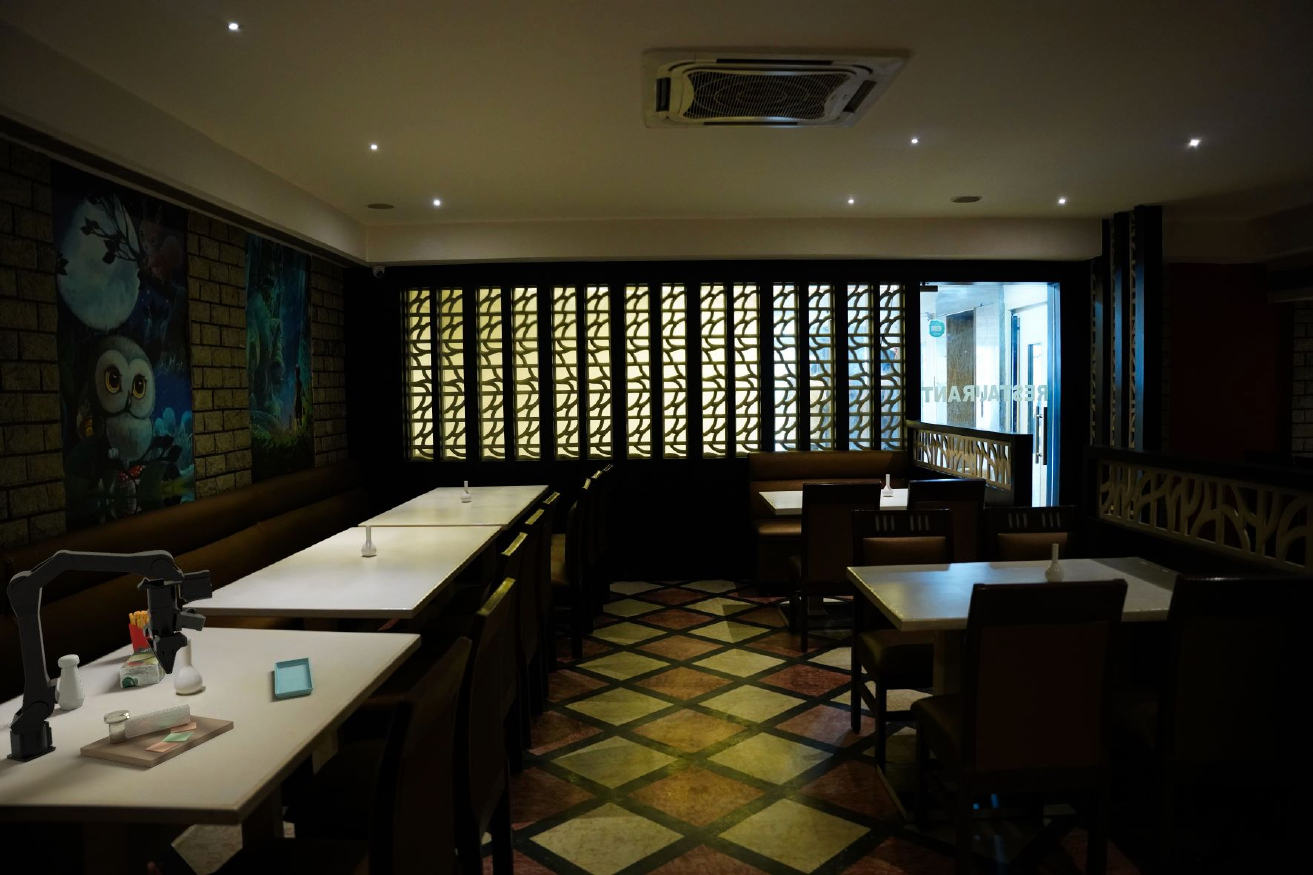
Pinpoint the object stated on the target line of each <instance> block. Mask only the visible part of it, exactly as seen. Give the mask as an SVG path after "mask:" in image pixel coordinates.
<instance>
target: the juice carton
mask: <svg viewBox="0 0 1313 875" xmlns="http://www.w3.org/2000/svg"><path fill="white" fill-rule="evenodd" d="M165 675H167V674H166V672H165V670H164V669H163V668H162V667H161V666H160V664H159V662H158V660H157V658H156V657H155V655H154V653H153V651H152V650H151V648H150V646H149V647H139V648H137V650H136V651H135V652H134V651H133V653H132V654H131V655H130V657H129V658H128V659H127V661H126V662H125V663H124V664H123V665H122V666H121V668H119V677H120V679H119V686H120V688H121V689H123V688H126V687H131V686H134V687H135V686H138V687H139V686H146V685H154V684H160V683H161V681H162V680H163V679H164V677H165Z"/></svg>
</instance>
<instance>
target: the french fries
mask: <svg viewBox="0 0 1313 875" xmlns="http://www.w3.org/2000/svg"><path fill="white" fill-rule="evenodd" d="M147 610H149V609H147ZM147 610H141V611H140V610H138V611H135V612H134V613H132V612H131V613H129V614H128V616H129V620H130V623H129V624H128V627H129V628H128V629H129V634H130V638H131V643H132V644H131V645H132V650H133V653H134V652H135V651H136V650H137V648H139V647H149V644H148V642H147V641H146V639H147V638H150V634H148V637H145V636H144V635H143V627H144V625H145V624H146V623H149V616H148V614H147Z"/></svg>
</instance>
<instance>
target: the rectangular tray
mask: <svg viewBox="0 0 1313 875" xmlns="http://www.w3.org/2000/svg"><path fill="white" fill-rule="evenodd" d="M273 665H274V667H273V668H274V694H275V696H276V698H277V699H279V700H281V699H286V698H292V697H298V696H305V695H310V694H312V692H313V691H314V688H315V687H314V681H313V673H312V668H311V660H310V657H301V658H295V659H289V660H288V659H287V660H283V661H277V662H276V661H275V662H274V664H273Z"/></svg>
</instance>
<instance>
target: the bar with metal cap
mask: <svg viewBox="0 0 1313 875" xmlns="http://www.w3.org/2000/svg"><path fill="white" fill-rule="evenodd" d="M190 715H191V707H190V704H183V705H182V704H181V705H179V706H173V707H170V708H169V707H168V708H165V709H161V710H158V711H154V712H149V713H144V714H141V715H136V716H132V717H131V712H130V710H128V709H119V710H115V711H112V712H108V713H106V714H104V716H103V723H104V725H108V736H109V738H110V743H118V742H122V741H124V740H126V739H127V738H128V737H132V736H136V735H140V734H144V733H148V732H152V731H156V730H160V729H164V728H168V727H172V726H176V725H180V724H184V723H188V722H191V719H190Z"/></svg>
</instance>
